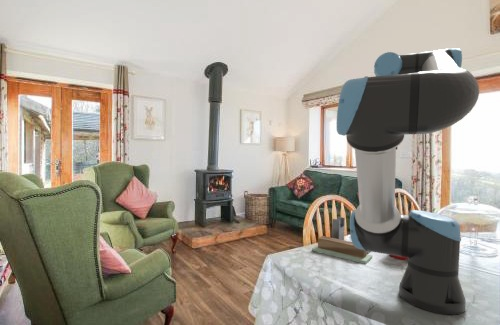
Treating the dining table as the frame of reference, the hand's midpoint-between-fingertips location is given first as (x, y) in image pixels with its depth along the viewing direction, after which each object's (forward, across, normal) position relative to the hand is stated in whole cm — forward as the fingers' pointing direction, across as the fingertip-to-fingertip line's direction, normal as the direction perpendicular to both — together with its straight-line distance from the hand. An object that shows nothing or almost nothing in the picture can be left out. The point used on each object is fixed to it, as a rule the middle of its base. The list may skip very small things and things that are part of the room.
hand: (385, 167), depth 98 cm
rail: (+34, +4, +16) cm, 37 cm away
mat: (+35, +4, +16) cm, 38 cm away
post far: (+35, +15, +21) cm, 43 cm away
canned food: (+35, +17, -3) cm, 39 cm away
